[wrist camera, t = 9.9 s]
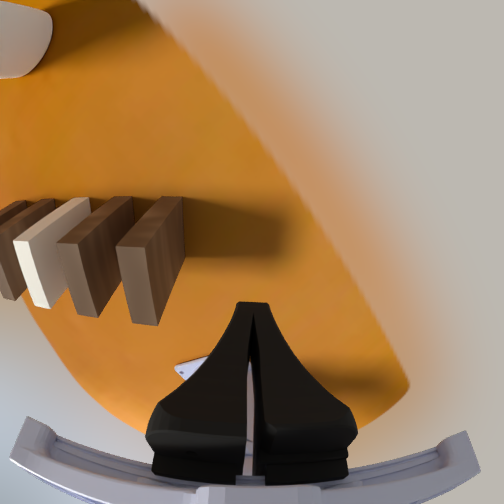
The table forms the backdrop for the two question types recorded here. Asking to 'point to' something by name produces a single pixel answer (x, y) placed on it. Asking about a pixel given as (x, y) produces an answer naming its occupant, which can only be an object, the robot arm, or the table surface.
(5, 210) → the domino
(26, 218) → the domino
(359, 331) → the table surface
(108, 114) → the table surface
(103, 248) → the domino
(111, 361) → the table surface
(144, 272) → the domino
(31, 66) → the can
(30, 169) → the table surface
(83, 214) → the domino
